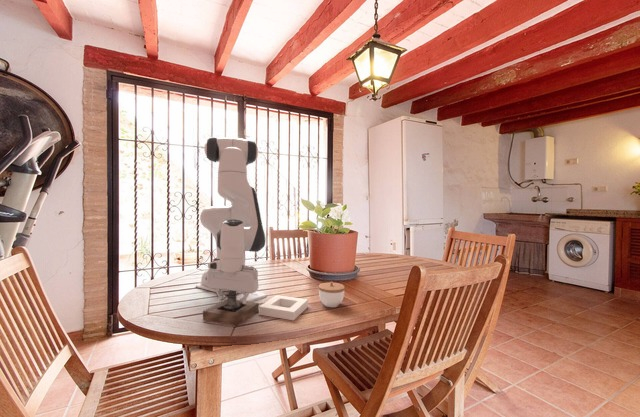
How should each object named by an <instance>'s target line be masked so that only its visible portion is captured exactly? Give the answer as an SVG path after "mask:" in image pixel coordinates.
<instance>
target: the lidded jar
mask: <svg viewBox="0 0 640 417" xmlns="http://www.w3.org/2000/svg"><path fill="white" fill-rule="evenodd" d="M345 289H346V287H345V285H344V284H342V283H339V282H333V281H330V282H324V283H323V282H322V283H320V284H319V285H318V296H319V300H320V301H321V303H322V304H323V305H324V307H327V308H337V307H339V305H340V304H341V303H342V302H343V300H344V296H345Z"/></svg>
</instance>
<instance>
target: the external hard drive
mask: <svg viewBox="0 0 640 417" xmlns="http://www.w3.org/2000/svg"><path fill="white" fill-rule="evenodd" d="M243 297H244V295H243V294H239V295H237V296H236V300H240V299H242V298H243ZM264 298H267V294H266V293H263V292H259V291H258V290H257V291H256V292H254V293H249V295H248V297H247V298H246V301H248V302H254V301H258V300H261V299H264Z"/></svg>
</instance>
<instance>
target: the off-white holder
mask: <svg viewBox="0 0 640 417" xmlns="http://www.w3.org/2000/svg"><path fill="white" fill-rule="evenodd" d="M307 308H309V299H306V298H299V297H293V296H285V295H278V294H276V295H274V296H273V297H272V298H270V299H268V300H267V301H265V302H264V303H262V304H261V305H260V306H259V311H258V315H260V316H266V317H271V318H278V319H284V320H290V321H295V320H296V319H297V318H298V317H299V316H300V315H301V314H302V313H303V312H304V311H305V310H306V309H307Z"/></svg>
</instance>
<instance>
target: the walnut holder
mask: <svg viewBox="0 0 640 417" xmlns="http://www.w3.org/2000/svg"><path fill="white" fill-rule="evenodd" d="M236 301H237V303H239V304H240V300H236ZM227 302H228V298H226V299H224V300H222V301H220V302H218V303H216V304H214V305H212V306H210V307H208V308H206V309H203V311H202V320H203V321H205V320H206V321H208V322H215V323H220V324H221V323H222V324H224V325H225V324H226V325H231V326H235V327H237V326H239V325H240V324H242V323H243V322H245V321H246V320H247V319H249V318H251V317H252V316H254V315H255V314H257V313H259V305H260V304H259V303H260V302H254V301H252V302H248V301H246V303H245V304H240V307H239V310H238V311H236V312H230V311H225V308H224V305H225V304H227Z"/></svg>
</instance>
